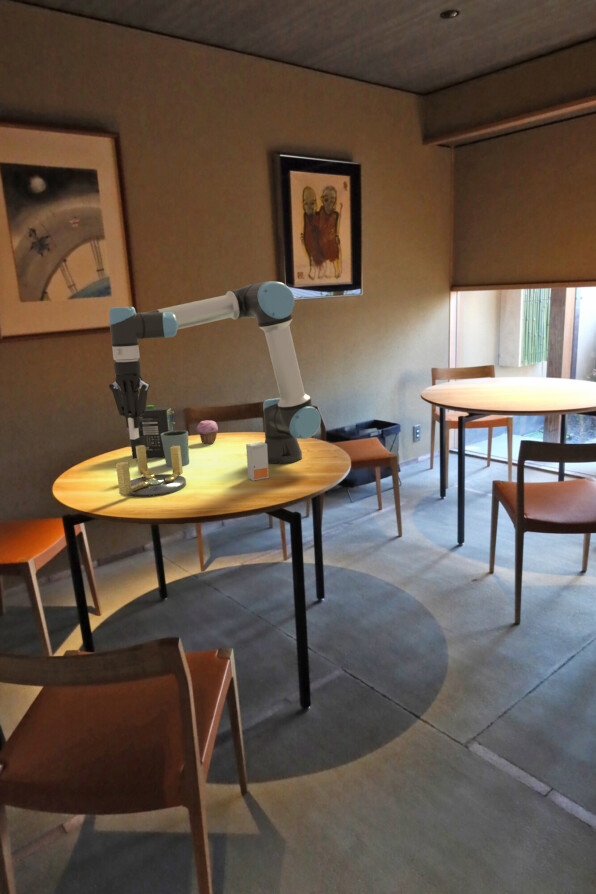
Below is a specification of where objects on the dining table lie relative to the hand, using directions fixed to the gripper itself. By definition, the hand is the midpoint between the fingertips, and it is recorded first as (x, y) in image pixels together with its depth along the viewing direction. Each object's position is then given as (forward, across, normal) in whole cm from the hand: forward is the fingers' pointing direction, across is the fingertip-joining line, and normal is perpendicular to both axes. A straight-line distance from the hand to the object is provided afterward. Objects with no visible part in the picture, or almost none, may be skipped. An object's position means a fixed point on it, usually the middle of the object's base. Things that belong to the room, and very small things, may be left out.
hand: (134, 438), depth 185 cm
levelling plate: (+19, -2, +12) cm, 22 cm away
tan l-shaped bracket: (+17, +2, +17) cm, 24 cm away
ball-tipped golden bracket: (+17, -4, +3) cm, 18 cm away
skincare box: (+19, +29, +27) cm, 44 cm away
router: (+19, -26, +50) cm, 60 cm away
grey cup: (+19, -10, +40) cm, 45 cm away
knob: (+17, -9, +18) cm, 26 cm away
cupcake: (+19, -13, +73) cm, 77 cm away
